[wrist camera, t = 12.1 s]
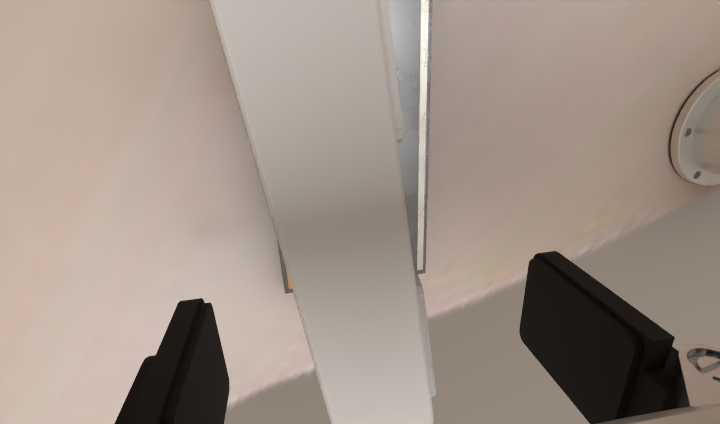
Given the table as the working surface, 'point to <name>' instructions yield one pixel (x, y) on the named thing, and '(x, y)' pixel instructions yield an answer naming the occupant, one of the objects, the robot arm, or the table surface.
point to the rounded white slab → (336, 193)
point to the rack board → (410, 116)
